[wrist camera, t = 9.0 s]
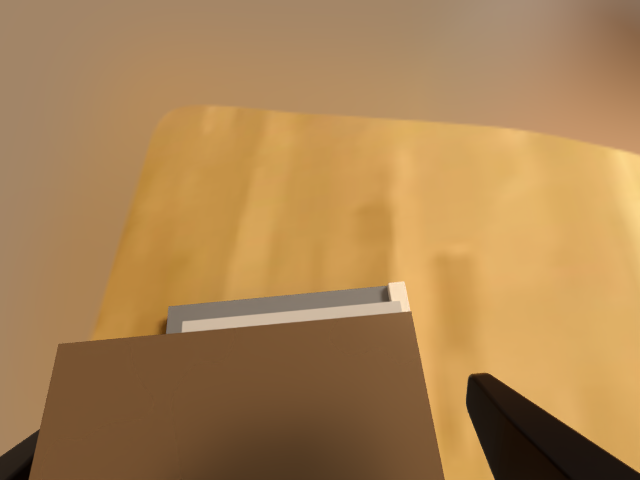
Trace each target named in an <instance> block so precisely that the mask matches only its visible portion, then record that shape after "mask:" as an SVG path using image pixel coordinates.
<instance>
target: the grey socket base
mask: <svg viewBox="0 0 640 480" xmlns="http://www.w3.org/2000/svg"><path fill="white" fill-rule="evenodd" d="M408 311H410V307H409V302H408V297H407V292H406V287H405V282H394V283H388V285H387V286H380V287H370V288H359V289H349V290H338V291H328V292H317V293H307V294H296V295H285V296H275V297H264V298H254V299H243V300H233V301H222V302H212V303H201V304H190V305H180V306H169V308H168V319H167V329H166V334H172V333H183V332H194V331H204V330H215V329H226V328H237V327H247V326H258V325H269V324H279V323H290V322H301V321H312V320H322V319H333V318H344V317H355V316H365V315H376V314H387V313H398V312H408Z"/></svg>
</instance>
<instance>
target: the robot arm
mask: <svg viewBox="0 0 640 480" xmlns="http://www.w3.org/2000/svg"><path fill="white" fill-rule="evenodd" d="M466 406H467V410H468V413H469V416H470V418H471V421H472V423H473V426H474V428H475V431H476V433H477V436H478V439H479V441H480V444H481V446H482V449H483V451H484V454H485V456H486V459H487V461H488V464H489V467H490V469H491V472H492V474H493V476H494V479H495V480H640V473H639V472H637V471H636V470H634V469H633V468H631V467H630V466H628V465H627V464H625V463H623V462H622V461H620V460H619V459H617V458H616V457H614V456H613V455H611V454H610V453H608V452H607V451H605V450H604V449H602V448H601V447H599V446H598V445H596V444H595V443H593V442H592V441H590V440H589V439H587V438H586V437H584V436H583V435H581V434H580V433H578V432H577V431H575V430H574V429H572V428H571V427H569V426H568V425H566V424H565V423H563V422H562V421H560V420H558V419H557V418H555V417H554V416H552V415H551V414H549V413H548V412H546V411H545V410H543V409H542V408H540V407H539V406H537V405H536V404H534V403H533V402H531V401H530V400H528V399H527V398H525V397H524V396H522V395H521V394H519V393H518V392H516V391H515V390H513V389H512V388H510V387H509V386H507V385H506V384H504V383H503V382H501V381H500V380H498V379H497V378H495V377H493V376H492V375H490V374H488V373H477V374H471V375H470V376H469V377H468V384H467V394H466ZM39 431H40V429H39V430H38V431H36V432H35V433H33V434H32V435H31V436H29V437H28V438H26V439H25V440H23V441H22V442H21V443H19V444H18V445H16V446H15V447H13V448H12V449H11V450H9V451H8V452H6V453H5V454H3V455H2V456H1V457H0V480H29V476H30V472H31V467H32V463H33V458H34V453H35V449H36V444H37V440H38V435H39Z"/></svg>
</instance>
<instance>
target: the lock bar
mask: <svg viewBox="0 0 640 480" xmlns="http://www.w3.org/2000/svg"><path fill="white" fill-rule="evenodd" d="M29 480H445V479H444V474H443V469H442V464H441V459H440V454H439V449H438V444H437V439H436V434H435V429H434V424H433V419H432V414H431V409H430V404H429V399H428V394H427V389H426V384H425V379H424V374H423V369H422V364H421V359H420V354H419V348H418V343H417V338H416V333H415V328H414V323H413V318H412V313H411V311H408V312H398V313H387V314H376V315H365V316H355V317H344V318H333V319H322V320H312V321H301V322H290V323H279V324H269V325H258V326H247V327H237V328H226V329H215V330H204V331H194V332H183V333H172V334H161V335H151V336H140V337H129V338H118V339H108V340H97V341H86V342H76V343H65V344H59V345H58V349H57V354H56V359H55V363H54V368H53V372H52V377H51V381H50V386H49V390H48V395H47V399H46V404H45V409H44V413H43V417H42V422H41V426H40V431H39V435H38V440H37V444H36V449H35V453H34V458H33V463H32V467H31V472H30V476H29Z"/></svg>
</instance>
